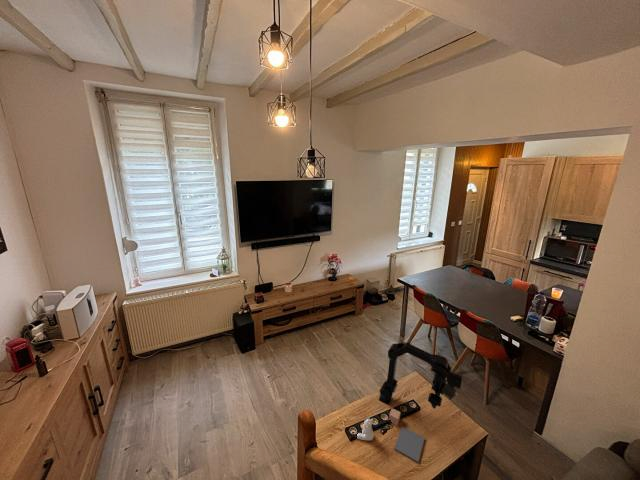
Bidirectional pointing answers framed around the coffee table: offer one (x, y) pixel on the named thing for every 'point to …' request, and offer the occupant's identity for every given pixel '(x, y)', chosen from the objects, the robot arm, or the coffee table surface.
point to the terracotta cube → (394, 416)
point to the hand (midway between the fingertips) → (435, 402)
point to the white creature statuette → (366, 431)
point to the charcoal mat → (409, 444)
